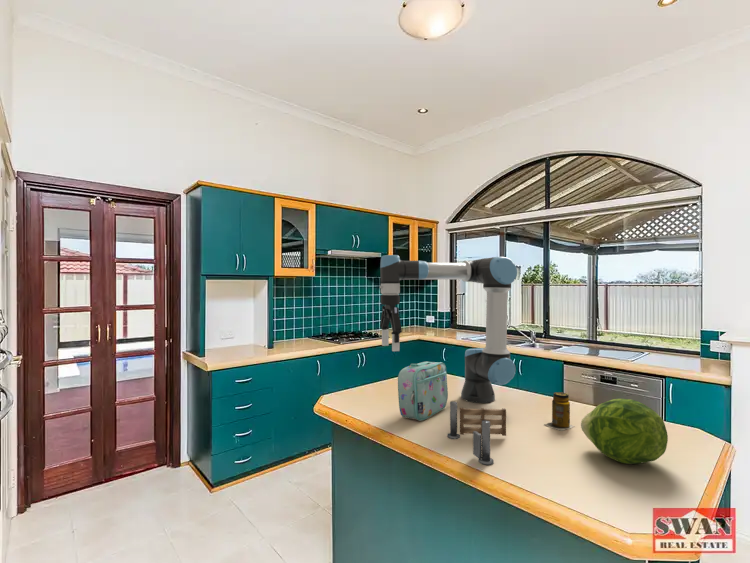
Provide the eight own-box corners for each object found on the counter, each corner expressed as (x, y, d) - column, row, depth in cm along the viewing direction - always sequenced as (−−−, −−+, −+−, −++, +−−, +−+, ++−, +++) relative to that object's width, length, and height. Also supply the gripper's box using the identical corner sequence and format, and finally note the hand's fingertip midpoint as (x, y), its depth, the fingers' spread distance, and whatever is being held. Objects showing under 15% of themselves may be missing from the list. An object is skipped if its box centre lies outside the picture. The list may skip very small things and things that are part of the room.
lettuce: (598, 441, 135) (587, 389, 136) (681, 455, 117) (668, 395, 117) (572, 465, 124) (560, 407, 124) (659, 485, 105) (644, 417, 105)
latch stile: (485, 455, 122) (485, 416, 122) (496, 464, 117) (496, 423, 117) (472, 457, 121) (472, 418, 121) (483, 466, 115) (483, 425, 115)
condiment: (574, 426, 147) (574, 394, 147) (561, 431, 143) (561, 398, 143) (556, 421, 153) (556, 390, 153) (543, 425, 149) (543, 393, 149)
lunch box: (417, 426, 147) (417, 369, 148) (395, 420, 154) (395, 365, 154) (450, 408, 169) (450, 358, 169) (429, 403, 175) (429, 355, 175)
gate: (460, 434, 137) (460, 408, 137) (459, 433, 138) (459, 407, 138) (506, 435, 136) (506, 409, 136) (505, 434, 137) (505, 408, 137)
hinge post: (456, 433, 140) (456, 400, 140) (462, 438, 136) (462, 403, 136) (445, 435, 139) (445, 401, 139) (450, 440, 135) (450, 404, 135)
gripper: (372, 293, 167) (372, 343, 167) (390, 295, 143) (391, 354, 143) (389, 293, 169) (389, 343, 169) (410, 295, 145) (410, 353, 145)
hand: (390, 348), depth 156 cm, fingers open, 13 cm apart
